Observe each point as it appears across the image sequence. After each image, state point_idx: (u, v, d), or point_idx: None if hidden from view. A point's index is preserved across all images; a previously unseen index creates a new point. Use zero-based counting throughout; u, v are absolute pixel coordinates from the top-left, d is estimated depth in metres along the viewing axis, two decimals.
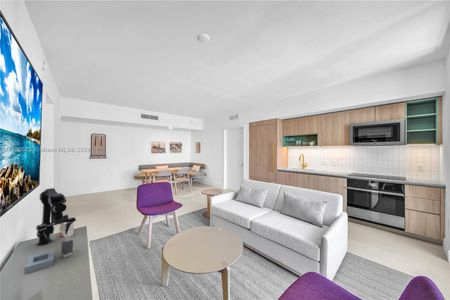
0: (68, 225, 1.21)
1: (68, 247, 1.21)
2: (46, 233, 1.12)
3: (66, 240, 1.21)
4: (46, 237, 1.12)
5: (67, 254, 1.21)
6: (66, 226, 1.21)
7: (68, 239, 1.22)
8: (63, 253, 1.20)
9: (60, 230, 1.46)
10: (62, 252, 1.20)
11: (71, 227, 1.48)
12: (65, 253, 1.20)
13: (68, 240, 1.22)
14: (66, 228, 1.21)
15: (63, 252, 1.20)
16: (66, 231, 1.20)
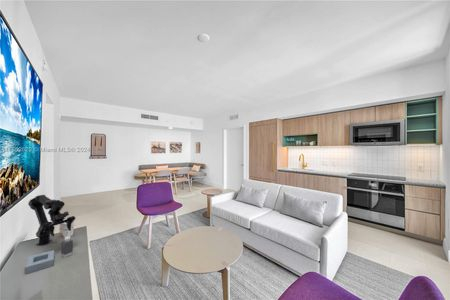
0: (70, 222, 1.31)
1: (68, 247, 1.21)
2: (51, 230, 1.21)
3: (66, 240, 1.21)
4: (52, 234, 1.21)
5: (67, 254, 1.21)
6: (68, 225, 1.31)
7: (68, 239, 1.22)
8: (63, 253, 1.20)
9: (60, 230, 1.46)
10: (62, 252, 1.20)
11: (71, 227, 1.48)
12: (65, 253, 1.20)
13: (68, 240, 1.22)
14: (68, 226, 1.31)
15: (63, 252, 1.20)
16: (69, 228, 1.30)
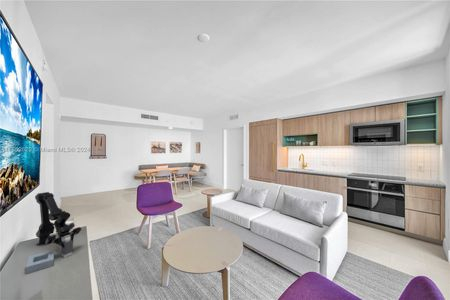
0: (72, 235, 1.26)
1: (68, 247, 1.21)
2: (61, 242, 1.20)
3: (66, 240, 1.21)
4: (62, 245, 1.19)
5: (67, 254, 1.21)
6: (70, 238, 1.26)
7: (68, 239, 1.22)
8: (63, 253, 1.20)
9: None
10: (62, 252, 1.20)
11: None
12: (65, 253, 1.20)
13: (68, 240, 1.22)
14: (71, 239, 1.25)
15: (63, 252, 1.20)
16: None
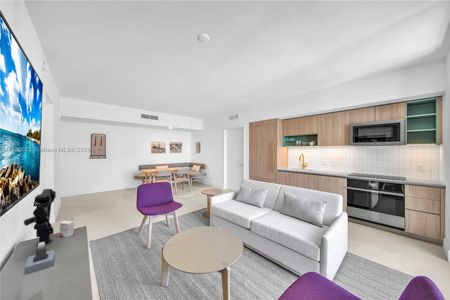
0: (37, 229, 1.19)
1: (40, 255, 1.10)
2: None
3: (39, 247, 1.10)
4: None
5: None
6: None
7: (41, 246, 1.10)
8: (35, 261, 1.09)
9: (60, 230, 1.46)
10: None
11: (71, 227, 1.48)
12: None
13: (41, 247, 1.10)
14: None
15: None
16: (38, 234, 1.20)
